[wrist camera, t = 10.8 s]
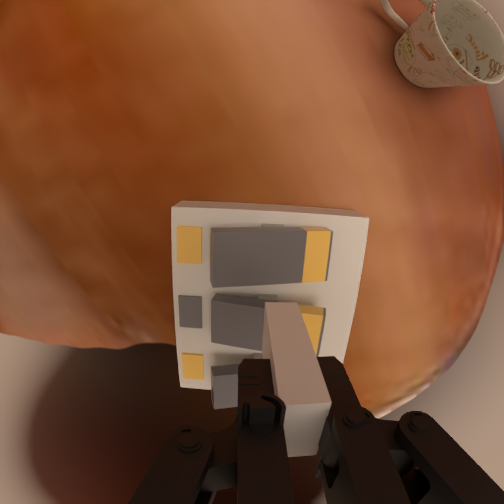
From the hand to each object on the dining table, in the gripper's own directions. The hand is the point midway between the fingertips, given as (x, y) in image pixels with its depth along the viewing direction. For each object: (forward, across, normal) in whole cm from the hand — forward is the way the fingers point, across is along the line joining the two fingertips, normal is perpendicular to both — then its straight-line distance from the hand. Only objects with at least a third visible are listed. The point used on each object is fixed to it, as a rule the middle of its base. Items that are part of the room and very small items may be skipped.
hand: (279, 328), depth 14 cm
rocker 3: (+9, 0, -6) cm, 11 cm away
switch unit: (+15, 0, -6) cm, 16 cm away
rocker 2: (+9, 0, 0) cm, 9 cm away
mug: (+16, +14, +21) cm, 30 cm away
